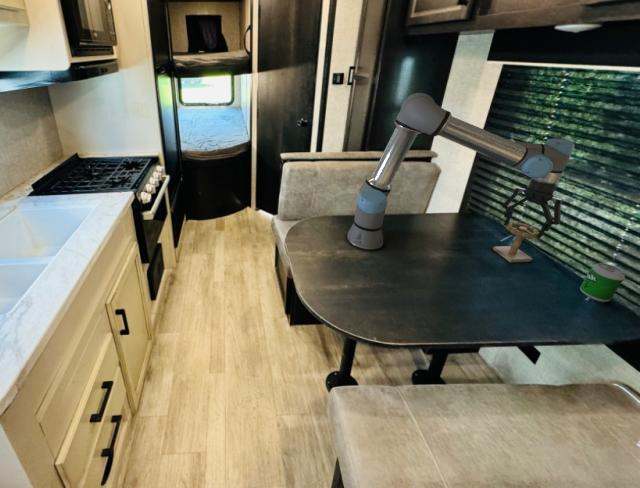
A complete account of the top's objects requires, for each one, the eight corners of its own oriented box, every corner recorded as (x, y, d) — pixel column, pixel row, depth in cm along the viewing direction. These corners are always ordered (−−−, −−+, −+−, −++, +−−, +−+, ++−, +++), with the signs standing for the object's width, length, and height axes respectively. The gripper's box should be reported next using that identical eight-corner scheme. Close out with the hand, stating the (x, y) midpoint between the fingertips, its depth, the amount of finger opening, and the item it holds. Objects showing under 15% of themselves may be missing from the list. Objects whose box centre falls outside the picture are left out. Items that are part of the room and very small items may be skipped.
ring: (498, 226, 131) (500, 221, 130) (522, 225, 132) (524, 220, 131) (520, 240, 122) (522, 235, 121) (545, 239, 122) (547, 234, 121)
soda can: (612, 298, 109) (630, 271, 104) (604, 306, 106) (622, 279, 101) (582, 285, 115) (598, 259, 110) (574, 292, 112) (590, 266, 106)
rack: (492, 249, 135) (503, 222, 130) (512, 248, 136) (523, 221, 130) (510, 262, 127) (522, 234, 121) (531, 261, 128) (544, 233, 122)
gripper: (503, 173, 124) (485, 221, 133) (583, 193, 106) (556, 247, 116) (511, 169, 127) (493, 216, 137) (589, 188, 110) (562, 240, 120)
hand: (522, 230), depth 126 cm, fingers closed on ring, 10 cm apart
